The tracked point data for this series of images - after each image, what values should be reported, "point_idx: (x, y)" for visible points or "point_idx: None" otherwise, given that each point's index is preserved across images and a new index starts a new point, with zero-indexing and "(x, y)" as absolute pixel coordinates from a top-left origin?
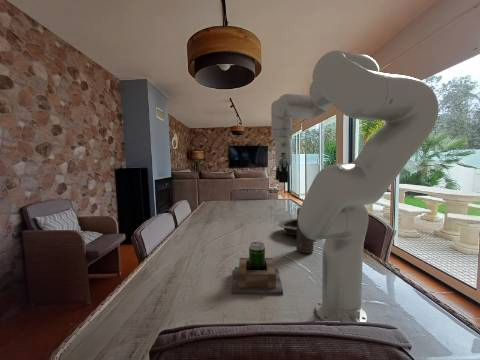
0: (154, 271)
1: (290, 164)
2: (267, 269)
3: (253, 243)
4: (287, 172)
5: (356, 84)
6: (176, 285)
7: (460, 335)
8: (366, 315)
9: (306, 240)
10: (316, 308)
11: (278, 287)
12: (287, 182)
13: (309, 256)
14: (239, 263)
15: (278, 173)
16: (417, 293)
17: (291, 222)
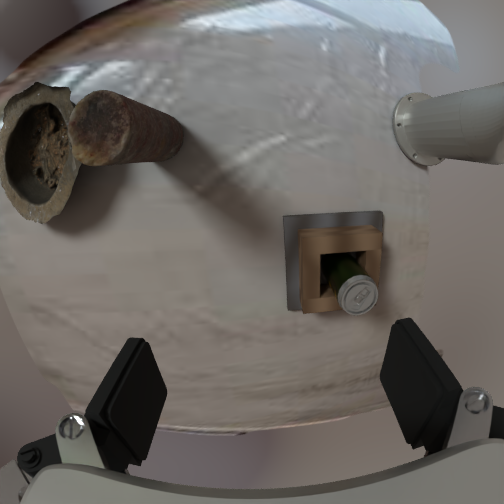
0: (297, 411)
1: (495, 439)
2: (362, 250)
3: (349, 306)
4: (452, 382)
5: None
6: (341, 375)
7: (425, 14)
8: (429, 96)
9: (172, 131)
10: (424, 164)
11: (369, 219)
12: (408, 319)
13: (192, 126)
14: (332, 310)
15: (146, 425)
16: None
17: (14, 183)
